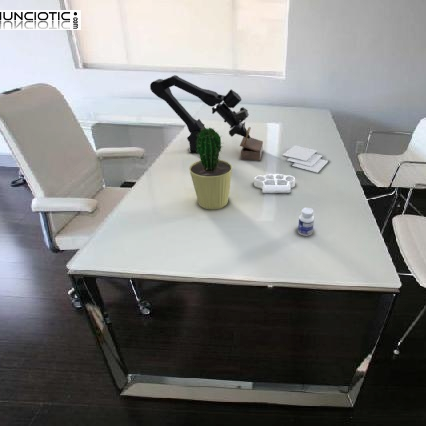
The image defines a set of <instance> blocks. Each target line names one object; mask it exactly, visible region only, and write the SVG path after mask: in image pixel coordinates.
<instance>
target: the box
mask: <svg viewBox="0 0 426 426" xmlns="http://www.w3.org/2000/svg"><path fill="white" fill-rule="evenodd" d="M263 148H264V142H263V143H262V147H261V150H260V152H257V151H254V150H251V149H248V148H245V147H242V148H241V150H240V160H242V161H243V160H244V161H255V162H256V161H257V162H260V161H261V159H262V156H263V151H264V149H263Z"/></svg>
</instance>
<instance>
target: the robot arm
mask: <svg viewBox="0 0 426 426" xmlns="http://www.w3.org/2000/svg"><path fill="white" fill-rule="evenodd" d="M172 87H176V88H178V89H180V90H182V91H184V92H186V93H188V94H190V95H192V96H194V97H196V98H198V99H199V100H200V101H202V102H203V103H204V104H205V105H207V106H208V107H212V108H211V114H212V115H214V114H215V113H217V114H218V115H219V116H220V117H221V118H222V119H223V122H224V123H225V124H228V125H229V131H228V135H229V136H230V137H231V138H232V137H234V136H235V135H238V136H241V137H242V138H243V137H246V135H247V133H246V132H247V130H248V129H247V128H246V121H245V120H246V119H247V118H249V115H250V114H249V112H248V111H249V110H248V109H247V108H245V107H244V106H242V107H240V108H239V110H238V111H236V110H233V111H232V110H231V109H234V108H236V107H237V106H238V105H239V103H241V102H242V97H241V96H240V94H239V93H237V92H236V91H235V90H233V89H230V90H229V91H228V92H227V93H226V94H225V95H224V94H219V93H218V92H216V91H214V90H211V89H206V88H202V87H200V86H197V85H196V84H194V83H192V82H189V81H187V80H186V79H183V78H181V77H180V76H178V75H176V74H174V75H172V76H170V77H167V78H164V79H162V78H158V79H156V80H153V81H151V83H150V84H149V89H150V91H151V92H152V93H153V94H154V95H155V96H156V97H157V98H159V99H161V100H163V101H164V102H165V103H166V104H167V105H168V106H169V107H170V108H171V109H172V111H173V112H174V113H175V114H176V115H177V116H178V118H179V119H181V121H183V123H184V124H185V125H186V127H187V130H188V132H189V133H190V134H189V135H188V136H187V137H186V139H187V142H188V143H189V153H190V154H196V152H197V154H199V153H198V151H197V148H196V147H197V144H196V143H197V140H198V136H199V134H198V133H201V131H202V130H203V129H202V128H204V129H205V128H206V126H205V123H203V122H202V120H201V119H200V118H198V119H195V118H194V117H193V116H192V115H191V114H190V112H188V111H187V109H186V108H185V107H184V106H183V105H182V103H181V102H180V101H178V99H177V98H176V97H175V96H174V94H173V93H172V90H171V88H172ZM244 121H245V122H244ZM204 126H205V127H204ZM196 134H197V135H196ZM250 137H251V136H250V133H249V134H248V137H247V138H248V139H249V138H250ZM195 141H196V142H195Z"/></svg>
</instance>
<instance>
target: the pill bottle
mask: <svg viewBox="0 0 426 426" xmlns="http://www.w3.org/2000/svg"><path fill="white" fill-rule="evenodd" d="M314 223H315V216H314V210H313V208H311V207H303V208H302V209H301V214H299V217H298V225H297V232H298V234H300V235H301V236H303V237H308V236H311V235H312V234H313V231H314Z"/></svg>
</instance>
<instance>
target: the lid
mask: <svg viewBox="0 0 426 426" xmlns="http://www.w3.org/2000/svg"><path fill="white" fill-rule="evenodd" d="M246 130H247V132H246V133H247V135H246V137H243V136H242V139H241V142H240V144H239V147H245V148H248V149H251V150H254V151H257V152H260V150H261V147H262V143H263V144H264V141H263V140H260V139H257V138H254V137H251V136H250V138H249V139H248V138H247V137H248V134H249V135H250V132H251V130H252V128H251V126H249V127H247V129H246Z"/></svg>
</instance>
